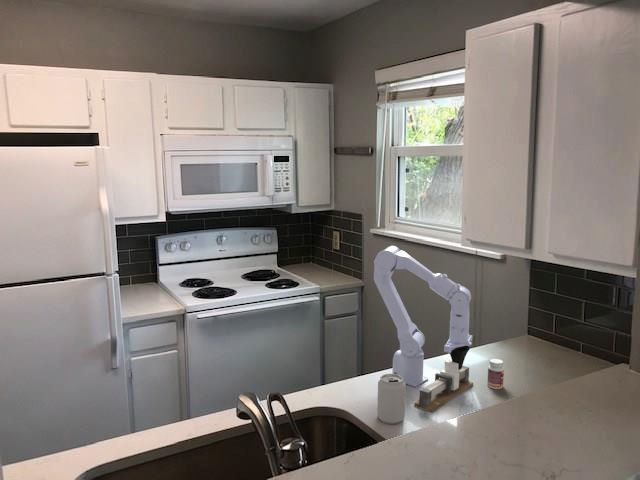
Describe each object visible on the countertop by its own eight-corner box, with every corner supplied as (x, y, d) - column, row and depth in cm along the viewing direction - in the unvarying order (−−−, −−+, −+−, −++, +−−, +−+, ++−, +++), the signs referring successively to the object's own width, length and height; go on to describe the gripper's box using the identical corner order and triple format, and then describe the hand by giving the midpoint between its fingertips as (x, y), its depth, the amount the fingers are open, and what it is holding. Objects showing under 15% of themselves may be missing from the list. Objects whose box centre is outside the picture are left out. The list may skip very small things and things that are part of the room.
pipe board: (414, 405, 154) (414, 388, 153) (455, 379, 172) (456, 364, 171) (432, 412, 150) (432, 394, 149) (473, 385, 168) (473, 368, 167)
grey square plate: (434, 389, 161) (435, 374, 160) (436, 388, 162) (436, 373, 161) (448, 393, 158) (449, 378, 157) (450, 392, 158) (451, 377, 158)
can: (386, 427, 141) (386, 385, 139) (372, 415, 148) (373, 374, 146) (409, 422, 144) (411, 380, 142) (395, 410, 151) (396, 370, 149)
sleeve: (439, 386, 163) (440, 362, 162) (444, 383, 165) (445, 359, 164) (453, 390, 160) (454, 366, 159) (458, 387, 162) (459, 363, 161)
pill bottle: (504, 390, 165) (505, 364, 163) (488, 388, 166) (489, 363, 164) (502, 383, 169) (503, 358, 168) (486, 382, 170) (487, 357, 169)
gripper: (460, 335, 155) (458, 379, 158) (482, 324, 166) (480, 365, 168) (438, 330, 160) (437, 372, 162) (461, 319, 171) (459, 359, 173)
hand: (457, 368), depth 165 cm, fingers closed
